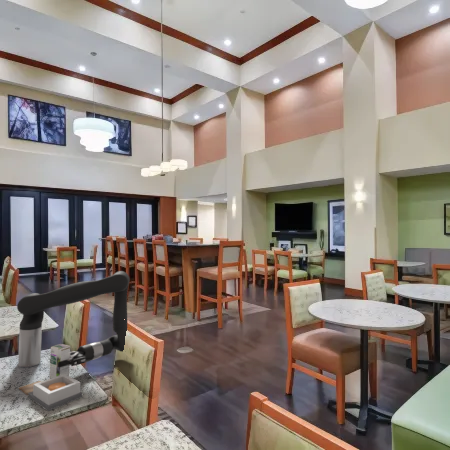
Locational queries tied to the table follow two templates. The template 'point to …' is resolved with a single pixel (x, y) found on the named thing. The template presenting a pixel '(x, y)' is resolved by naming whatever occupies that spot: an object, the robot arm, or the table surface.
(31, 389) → the rest mat
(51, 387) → the button
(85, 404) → the table surface
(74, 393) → the panel
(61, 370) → the syrup box
